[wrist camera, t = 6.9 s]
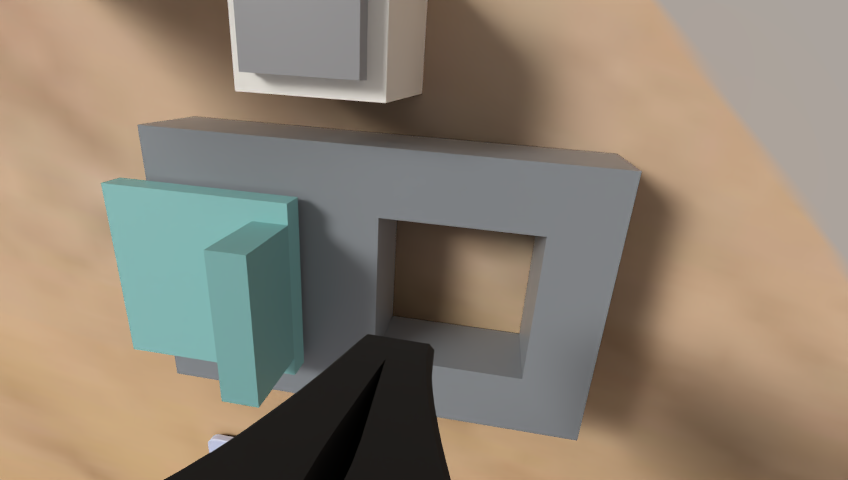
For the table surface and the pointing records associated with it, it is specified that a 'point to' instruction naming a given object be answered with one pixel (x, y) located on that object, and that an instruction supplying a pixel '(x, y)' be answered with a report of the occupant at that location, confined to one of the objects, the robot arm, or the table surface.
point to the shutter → (211, 278)
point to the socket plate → (434, 204)
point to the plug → (329, 48)
